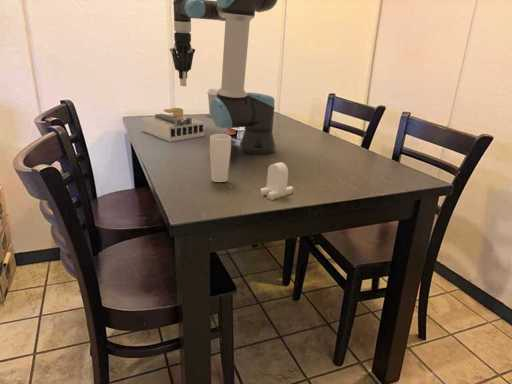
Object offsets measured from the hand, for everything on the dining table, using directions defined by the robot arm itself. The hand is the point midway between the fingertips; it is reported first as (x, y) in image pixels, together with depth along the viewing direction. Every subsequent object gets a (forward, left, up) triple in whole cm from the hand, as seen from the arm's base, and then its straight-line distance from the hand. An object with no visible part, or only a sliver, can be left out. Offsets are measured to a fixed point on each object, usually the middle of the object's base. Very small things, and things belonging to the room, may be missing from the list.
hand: (183, 85), depth 183 cm
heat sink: (-6, +10, -21) cm, 24 cm away
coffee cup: (+15, -32, -21) cm, 41 cm away
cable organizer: (-85, +26, -21) cm, 92 cm away
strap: (-7, +12, -14) cm, 20 cm away
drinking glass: (-66, +33, -21) cm, 77 cm away
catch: (+1, +5, -14) cm, 15 cm away
